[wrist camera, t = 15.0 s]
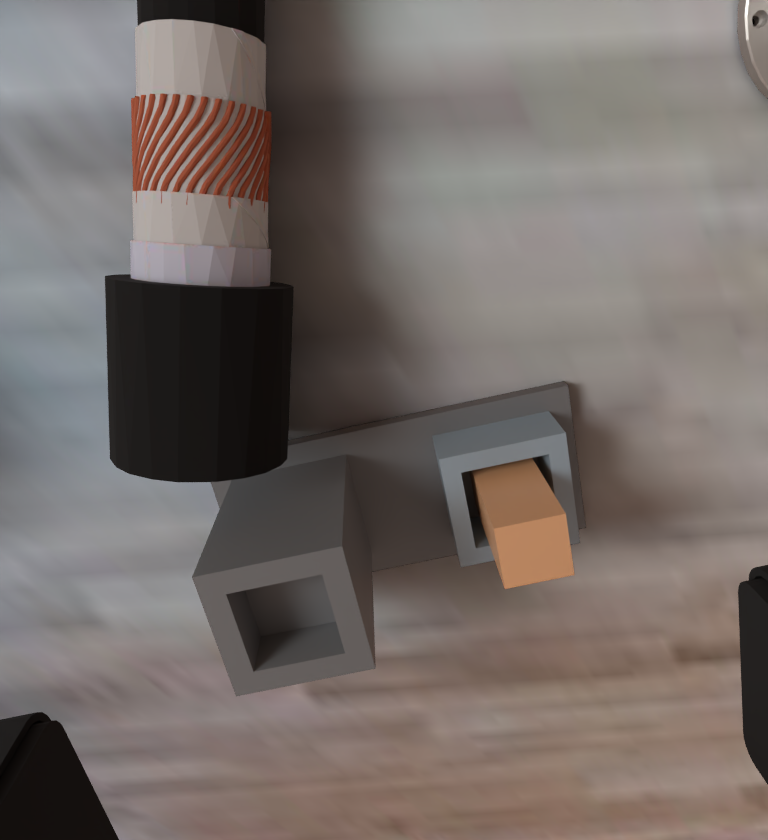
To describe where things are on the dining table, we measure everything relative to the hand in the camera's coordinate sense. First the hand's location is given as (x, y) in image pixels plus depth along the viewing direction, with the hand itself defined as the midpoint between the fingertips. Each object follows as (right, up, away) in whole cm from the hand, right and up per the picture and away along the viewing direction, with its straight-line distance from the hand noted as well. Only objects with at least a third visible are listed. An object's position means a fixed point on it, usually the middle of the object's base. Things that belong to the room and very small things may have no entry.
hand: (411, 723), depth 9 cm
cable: (-10, +20, +31) cm, 38 cm away
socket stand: (+1, -1, +39) cm, 39 cm away
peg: (+8, 0, +38) cm, 39 cm away
